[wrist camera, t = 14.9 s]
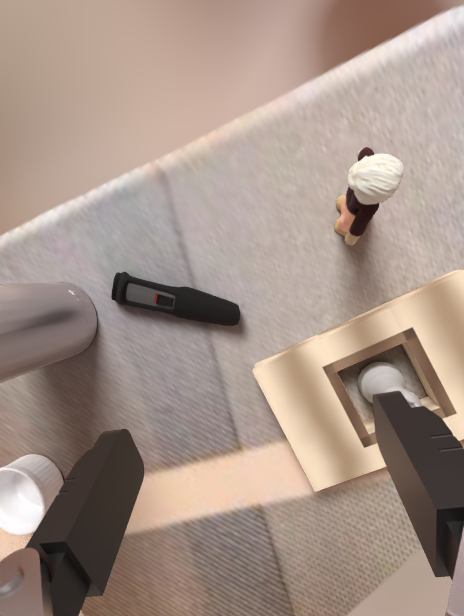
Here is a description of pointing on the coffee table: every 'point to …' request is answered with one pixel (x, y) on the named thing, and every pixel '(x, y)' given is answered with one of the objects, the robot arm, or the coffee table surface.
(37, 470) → the ramekin
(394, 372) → the rook chess piece
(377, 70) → the coffee table surface
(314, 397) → the socket board
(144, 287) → the electric trimmer
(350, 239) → the grandmother figurine
